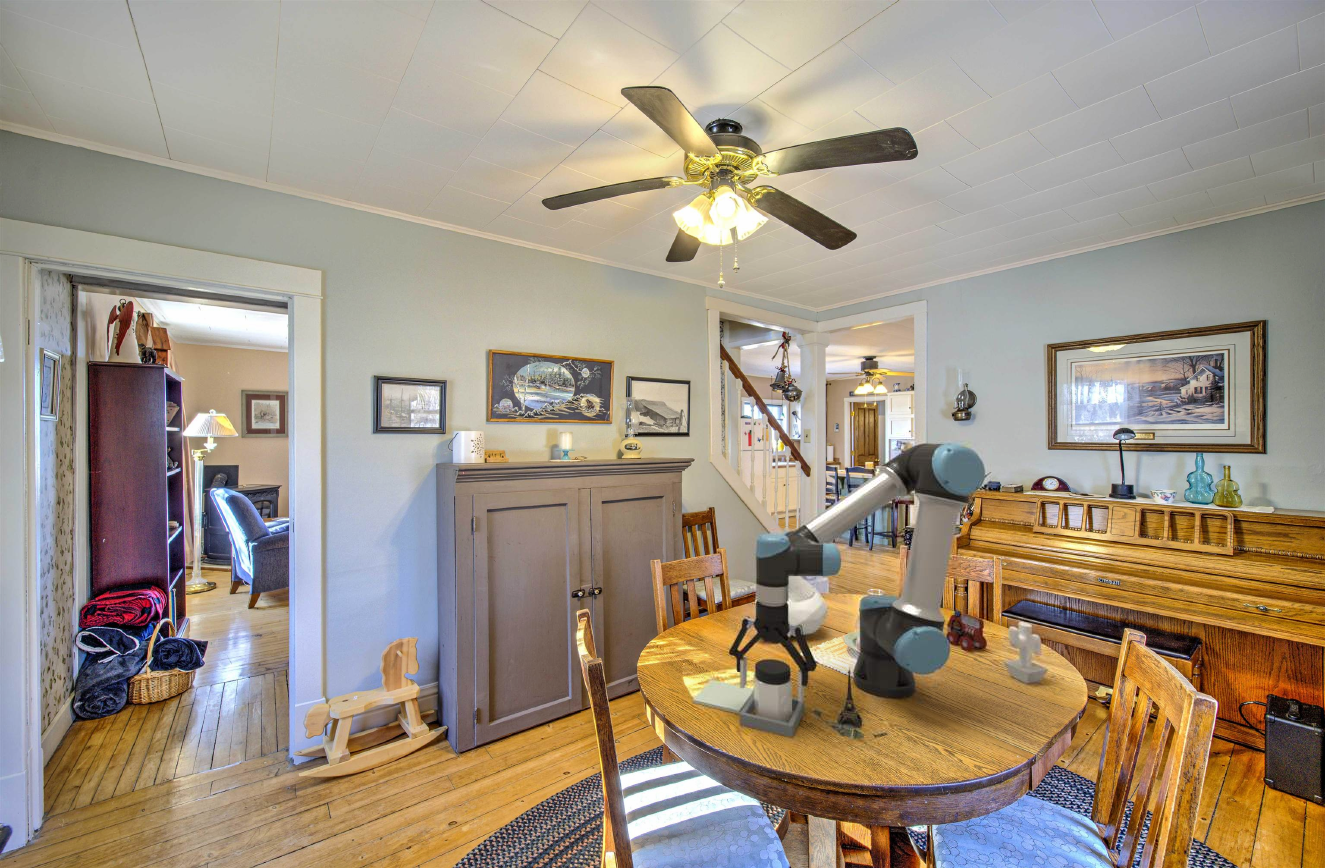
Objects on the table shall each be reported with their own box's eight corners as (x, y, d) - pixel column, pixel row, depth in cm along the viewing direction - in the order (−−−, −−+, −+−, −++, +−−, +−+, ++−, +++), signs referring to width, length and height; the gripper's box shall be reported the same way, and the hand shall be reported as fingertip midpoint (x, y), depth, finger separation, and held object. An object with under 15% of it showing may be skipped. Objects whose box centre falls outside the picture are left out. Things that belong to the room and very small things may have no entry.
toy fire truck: (958, 637, 172) (957, 605, 172) (991, 652, 161) (991, 618, 161) (940, 640, 170) (940, 607, 170) (973, 655, 159) (973, 620, 159)
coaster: (754, 692, 136) (754, 689, 136) (739, 714, 126) (739, 710, 126) (710, 682, 142) (710, 679, 142) (692, 702, 131) (692, 699, 131)
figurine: (1052, 682, 140) (1051, 626, 141) (1024, 687, 138) (1024, 629, 138) (1026, 671, 147) (1025, 617, 148) (1000, 675, 145) (999, 620, 145)
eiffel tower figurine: (809, 712, 127) (808, 656, 127) (843, 704, 131) (843, 650, 131) (852, 746, 113) (851, 683, 113) (889, 736, 117) (888, 676, 117)
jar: (771, 731, 118) (771, 677, 118) (746, 715, 125) (746, 664, 125) (799, 719, 123) (799, 667, 123) (774, 704, 130) (773, 655, 130)
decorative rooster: (817, 603, 187) (772, 549, 187) (843, 608, 172) (795, 549, 172) (770, 655, 179) (723, 599, 179) (793, 665, 164) (742, 604, 164)
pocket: (804, 710, 127) (804, 699, 127) (792, 737, 115) (792, 726, 115) (756, 699, 132) (755, 689, 132) (739, 724, 121) (739, 713, 121)
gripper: (829, 604, 122) (829, 697, 122) (727, 590, 133) (726, 674, 133) (824, 614, 115) (823, 712, 115) (716, 598, 126) (715, 687, 126)
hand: (771, 692), depth 124 cm, fingers open, 13 cm apart
